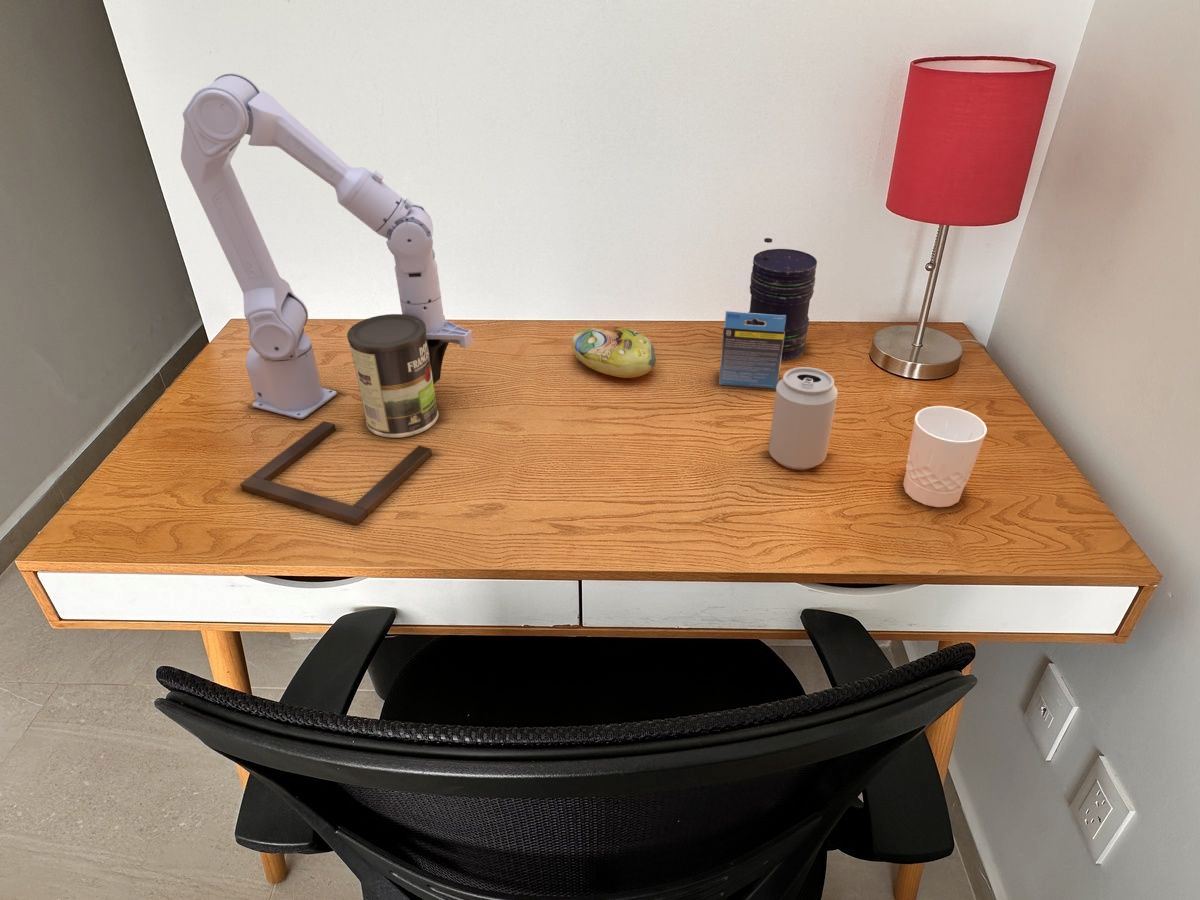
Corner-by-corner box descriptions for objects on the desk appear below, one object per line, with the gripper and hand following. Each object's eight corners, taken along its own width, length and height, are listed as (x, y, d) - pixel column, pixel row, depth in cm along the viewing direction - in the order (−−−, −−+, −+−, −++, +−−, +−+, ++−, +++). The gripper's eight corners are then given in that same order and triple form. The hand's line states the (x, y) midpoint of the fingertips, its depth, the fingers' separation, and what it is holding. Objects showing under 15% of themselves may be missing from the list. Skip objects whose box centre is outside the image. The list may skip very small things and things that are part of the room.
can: (828, 446, 107) (842, 367, 100) (822, 478, 101) (837, 396, 94) (772, 436, 109) (782, 359, 102) (763, 467, 103) (773, 387, 96)
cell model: (625, 382, 117) (558, 320, 122) (619, 411, 123) (556, 351, 128) (676, 345, 121) (609, 287, 126) (668, 376, 128) (605, 319, 133)
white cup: (957, 518, 94) (979, 449, 88) (890, 497, 97) (907, 429, 92) (971, 484, 99) (992, 417, 94) (907, 465, 103) (924, 399, 97)
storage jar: (805, 336, 134) (821, 231, 124) (804, 363, 126) (820, 254, 116) (746, 331, 136) (756, 227, 126) (741, 357, 128) (751, 249, 118)
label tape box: (777, 377, 122) (786, 303, 115) (777, 391, 119) (787, 315, 112) (719, 373, 124) (725, 300, 117) (718, 386, 120) (724, 311, 113)
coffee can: (449, 403, 117) (437, 316, 109) (422, 442, 109) (407, 350, 101) (384, 397, 119) (367, 310, 111) (353, 434, 111) (332, 343, 103)
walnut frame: (241, 490, 100) (239, 484, 100) (324, 426, 112) (323, 420, 112) (357, 525, 94) (355, 519, 94) (432, 454, 106) (431, 448, 106)
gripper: (479, 293, 112) (488, 377, 120) (394, 278, 117) (407, 360, 125) (452, 312, 107) (463, 399, 114) (364, 296, 112) (380, 381, 119)
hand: (433, 380), depth 119 cm, fingers closed
